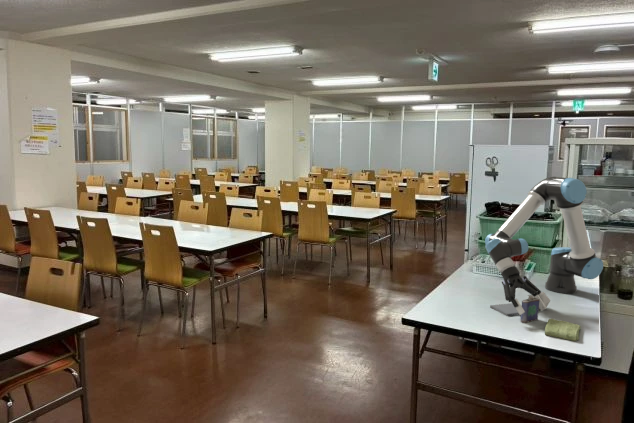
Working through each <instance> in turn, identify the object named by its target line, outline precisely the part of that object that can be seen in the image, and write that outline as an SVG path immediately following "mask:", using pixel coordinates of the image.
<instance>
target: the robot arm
mask: <svg viewBox="0 0 634 423" xmlns="http://www.w3.org/2000/svg"><path fill="white" fill-rule="evenodd" d="M586 195H587V187H586V185H585V183H584V182H583V181H582V180H580V179H578V178H573V177H560V176H550V177H547V178H544V179H542V180H541V181H539V182H538V183H536V184H535V185H534V186H533V187H532V188H531V189H530V190H529V191H528V193H527V196H526V197H525V199H524V200H523V201H522V202H521V203H520V204H519V206H518V207H517V208H516V209H515V210H514V211H513V212H512V214H511V215H510V216H509V217H508V218H507V219H506V220H505V221H504V223H503V224H502V225H501V226H500V227H499V228H498V230H496V232H495V233H489V234H488V235H486V237H485V238H484V239H485V240H484V244H485V249H486V252H487V254H488V255H489V258H491V260H492V261H493V263H494V264H495V266H496V267H497V270H498V272H499V273H500V275H501V276H502V278H503V280H502V281H501V284H502V286H503V291H504V297H505V298H504V299H505V301H508V303H512V304H513V305H514V307H515V308H516V309H517V311H518V313H519V316H521V314H523V313H524V312H525V311H524V309H523V308H522V303H520V301H519V299H518V298H516V291H517V289H521V290H524V291H526V292H527V293H528V294H529V295H530V296H531V295H533V296H534V297H535V298H538V299H539V308H540V309H539V310H540V311H545V310H546V309H547V308H546V306H545V304H544V303H543V301H542V299H541V297H540V296H539V294H540V293H541V292H542V290H540V289H539V288H538V287H537V286H536V285H535V284H534V283H532V282H531V281H530V279H529V278H528V277H527V276H526V275H524V276H523V277H521V276H520V271H519V269H518V267H517V266H516V264H515V263H514V261H513V259H512V258H513V257H517V256H521V255H524V254H526V253H527V252H528V251H529V244H528V242H527V240H526V239H525V238H516V239H512V238H513V237H514V236H516V234H517V233H518V232H519V230H520V229H521V228H522V227H523V226H524V225H525V223H527V221H528V220H529V219H530V218H531V217H532V216H533V214H535V212H536V211H537V210H538V209H539V208H540V207H541V206H544V205H545V204H546V203H547V202H548V201H551V200H552V201H555V204H556V208H558V209H560V210H561V213H562V214H561V215H562V217H563V218H562V219H563V221H564V227H565V230H566V234H567V238H568V239H567V240H568V243H569V246H570V247H567V246H566V247H565V246H563V247H562V246H561V247H560V246H559V247H553V248H552V250H551V253H550V266H549V275H548V277H547V280H546V282H545V285H544V287H545V288H544V289H546V290H549V291H551V292H555V293H560V294H561V293H562V294H574V293H576V292H577V291H578V289H577V285H576V281H575V276H577V277H581V278H582V279H587V280H594V279H596V278H598V277H600V275H601V273H602V272H603V269H604V262H603V260H602V259H601V258H600V257H597V256H596V251H595V249H593V248H592V247H591V246H590V241H589V237H588V236H589V235H588V232H587V228H586V223H585V219H584V215H583V210H582V205H583V203H584V200H585V199H586V197H587V196H586ZM534 293H535V294H534ZM534 297H533V298H534ZM545 308H546V309H545Z"/></svg>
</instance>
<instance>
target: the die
mask: <svg viewBox="0 0 634 423" xmlns="http://www.w3.org/2000/svg"><path fill="white" fill-rule="evenodd" d="M534 294H535V293H534ZM530 296H532V298H533V297H534V296H533V295H531V294H530ZM539 296H540V297H541V299H542V301H543V303H544V304H545V306H546V308H545V309H544V310H547V308H548V306H549V304H550V303H551V299H550V298H549V296H547V294H546V292H544V291H541V293H540V294H539ZM539 310H541V309H540V308H539Z"/></svg>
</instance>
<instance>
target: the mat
mask: <svg viewBox="0 0 634 423" xmlns="http://www.w3.org/2000/svg"><path fill="white" fill-rule="evenodd" d="M489 307H490V309H492V310H494V311H496V312H498V313H500V314H502V315H504V316H506V317H510V316H512V317H513V316H518V315H519V313H518V311H517V309H516V308H515V307H514V305H513V304H512V302H508V303H502V304H491V305H489ZM519 316H520V315H519Z"/></svg>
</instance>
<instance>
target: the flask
mask: <svg viewBox="0 0 634 423" xmlns="http://www.w3.org/2000/svg"><path fill="white" fill-rule="evenodd" d="M527 296H528V298H526V299H523V300H521V306H522V308H523V309H524V311H525V312H524V313H523V314H521V315H520V323H523V324H525V323H531V322H534V321H539V320H538V318H539V310H540V309H539V299H538V298H535V297H534V298H532V296H531V295H530V294H528V295H527Z"/></svg>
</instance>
